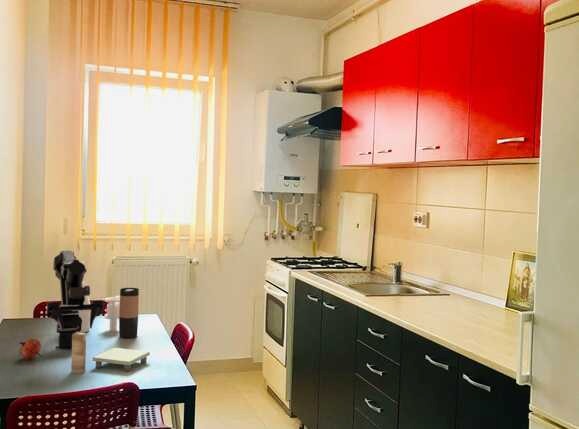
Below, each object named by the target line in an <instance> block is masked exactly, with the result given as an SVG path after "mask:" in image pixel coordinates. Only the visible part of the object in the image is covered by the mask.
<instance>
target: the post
mask: <svg viewBox="0 0 579 429" xmlns="http://www.w3.org/2000/svg"><path fill="white" fill-rule="evenodd" d="M86 351H87V332H85V333H74V334H72V349H71V363H70V364H71V369H70V370H71V373H72V374H84V373H85V372H86V359H87V358H86V356H87V355H86V354H87V352H86Z"/></svg>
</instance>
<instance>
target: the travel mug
mask: <svg viewBox="0 0 579 429" xmlns="http://www.w3.org/2000/svg"><path fill="white" fill-rule="evenodd" d="M139 290H140V289H139V288H138V287H123V288H120V290H119V296H120V302H119V303H120V304H119V306H120V309H119V319H118V322H119V324H118V330H119V334H118V336H119V338H120V339H125V340H128V339H136V338H137V337H138V326H139V325H138V324H139V296H140V295H139V294H140V293H139V292H140V291H139Z"/></svg>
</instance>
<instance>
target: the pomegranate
mask: <svg viewBox="0 0 579 429" xmlns="http://www.w3.org/2000/svg"><path fill="white" fill-rule="evenodd" d="M19 344H20V345H21V346H20V348H19V353H20V356H21V357H23V359H25V360H27V361H32V360H34V359H35V358H36V355H38V356H39V357H41V358H44V357H43V355H41V354H39V353H40V351H41V349H42V348H41V345H42V344H41V342H40V340H38V339H36V338H29V339H26V340H25V341H24V342H22V341H20V342H19Z"/></svg>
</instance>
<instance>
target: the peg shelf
mask: <svg viewBox="0 0 579 429" xmlns="http://www.w3.org/2000/svg"><path fill="white" fill-rule="evenodd" d="M150 354H151V352H150V351H147V350H146V351H145V350H138V349H137V350H136V349H130V348H129V349H128V348H122V347H121V348H119V347H113V348H111V349H109V350H107V351H104V352H102V353H100V354H99V353H98V355H95V356H94V355H93V357H92V362H95V368H96V369H101V368H102V367H103V366H102V365H103V363H107V364H108V363H109V364H116V365H122V366H123V365H124V366H123V367H124V368H123V369H124V370H123V371H124V372H125V373H129V371H130V372H131V365H133V364H135V363H137V362H139V361H140V363H141V364H147V360H148V359H147V357H149V356H151V355H150Z"/></svg>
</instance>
